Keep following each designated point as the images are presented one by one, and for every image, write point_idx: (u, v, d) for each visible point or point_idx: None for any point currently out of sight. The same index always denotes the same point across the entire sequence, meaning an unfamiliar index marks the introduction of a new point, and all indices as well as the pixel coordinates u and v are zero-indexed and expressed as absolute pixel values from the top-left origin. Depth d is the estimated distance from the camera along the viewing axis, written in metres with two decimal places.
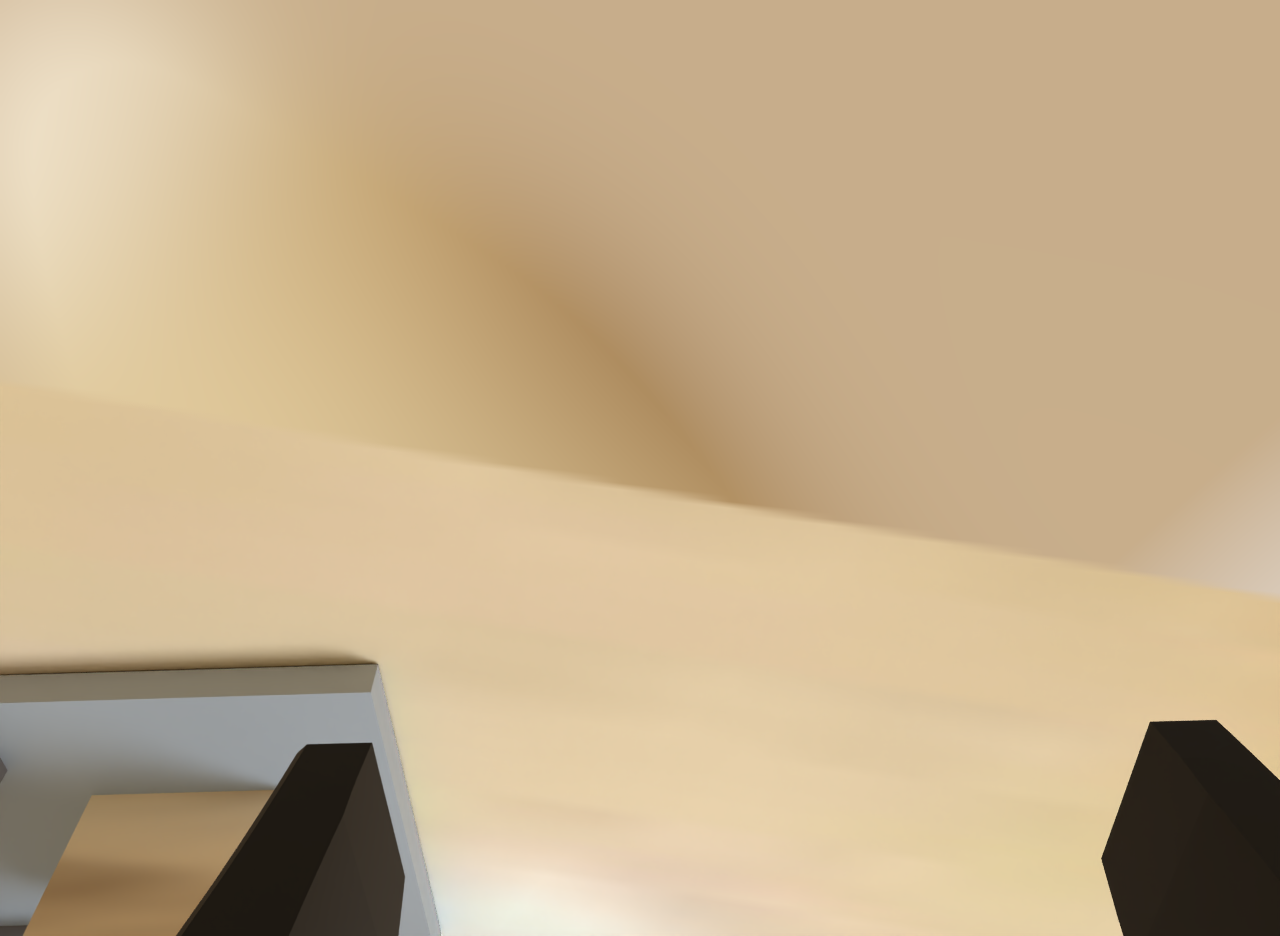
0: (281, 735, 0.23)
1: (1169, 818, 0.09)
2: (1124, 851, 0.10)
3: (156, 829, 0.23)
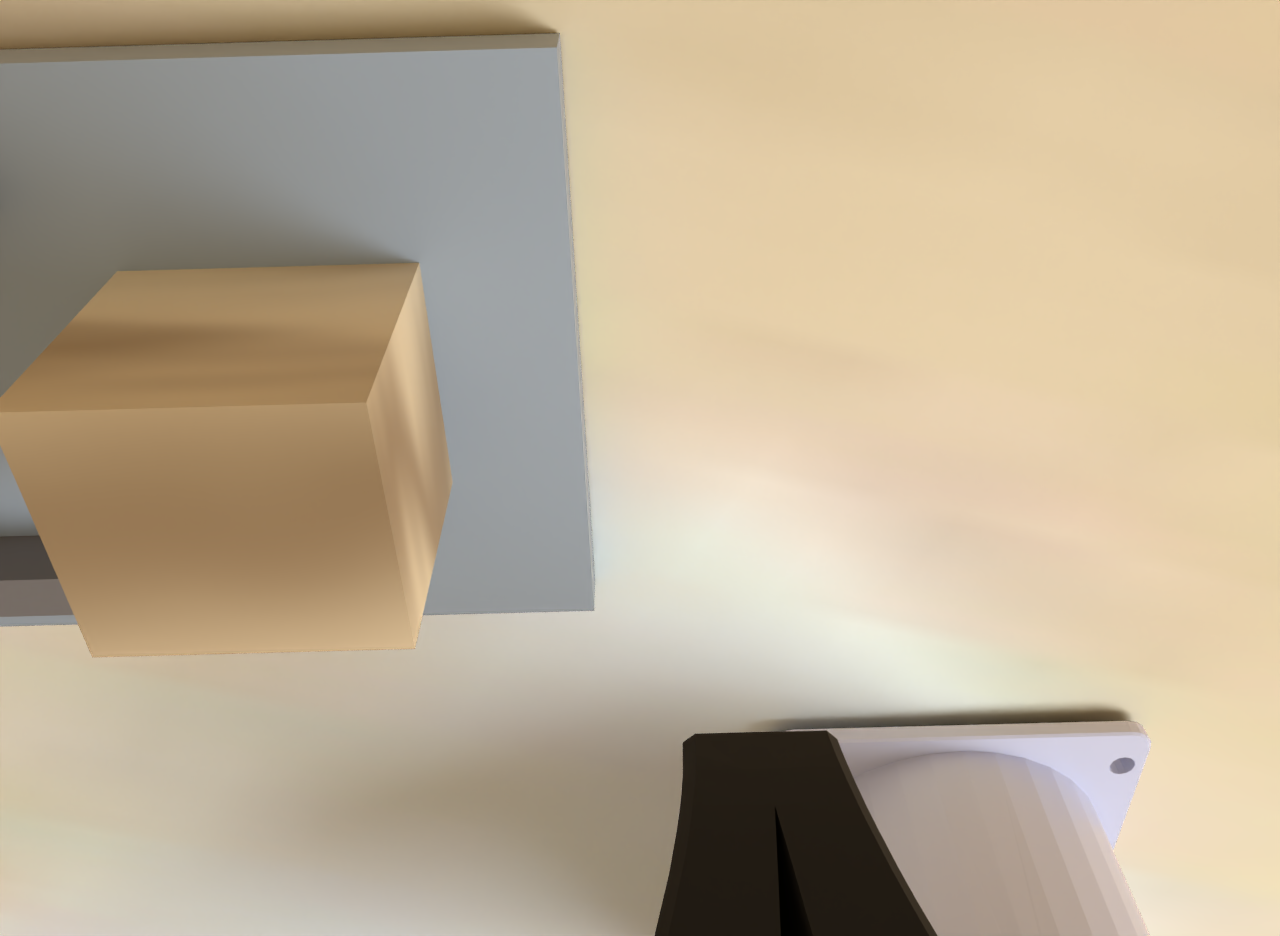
0: (410, 142, 0.15)
1: None
2: None
3: (217, 295, 0.15)
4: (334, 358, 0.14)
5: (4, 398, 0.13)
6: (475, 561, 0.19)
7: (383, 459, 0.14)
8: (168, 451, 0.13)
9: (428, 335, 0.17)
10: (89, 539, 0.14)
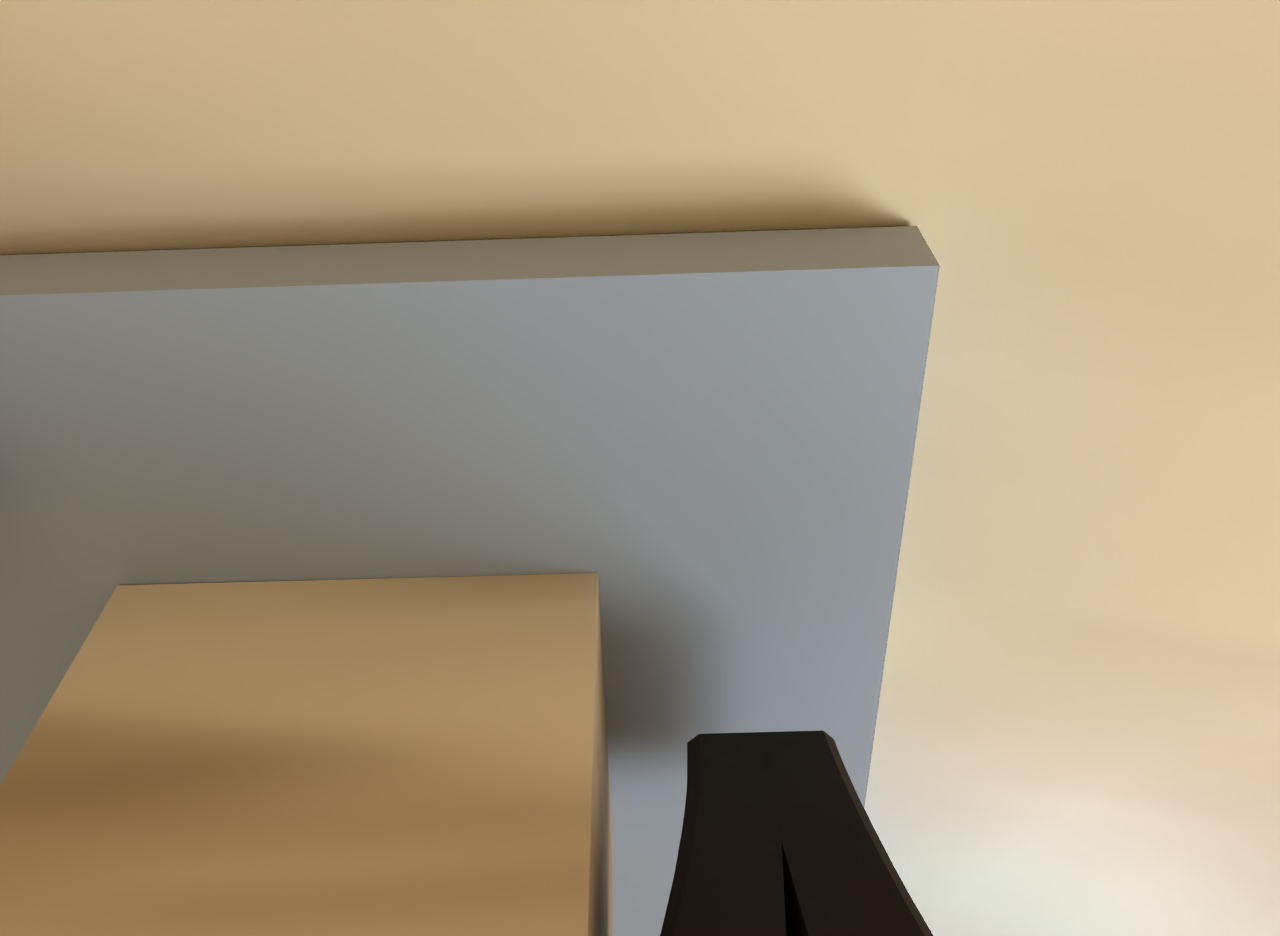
0: (668, 407, 0.09)
1: None
2: None
3: (282, 652, 0.09)
4: (505, 837, 0.08)
5: None
6: None
7: None
8: None
9: (602, 670, 0.11)
10: None
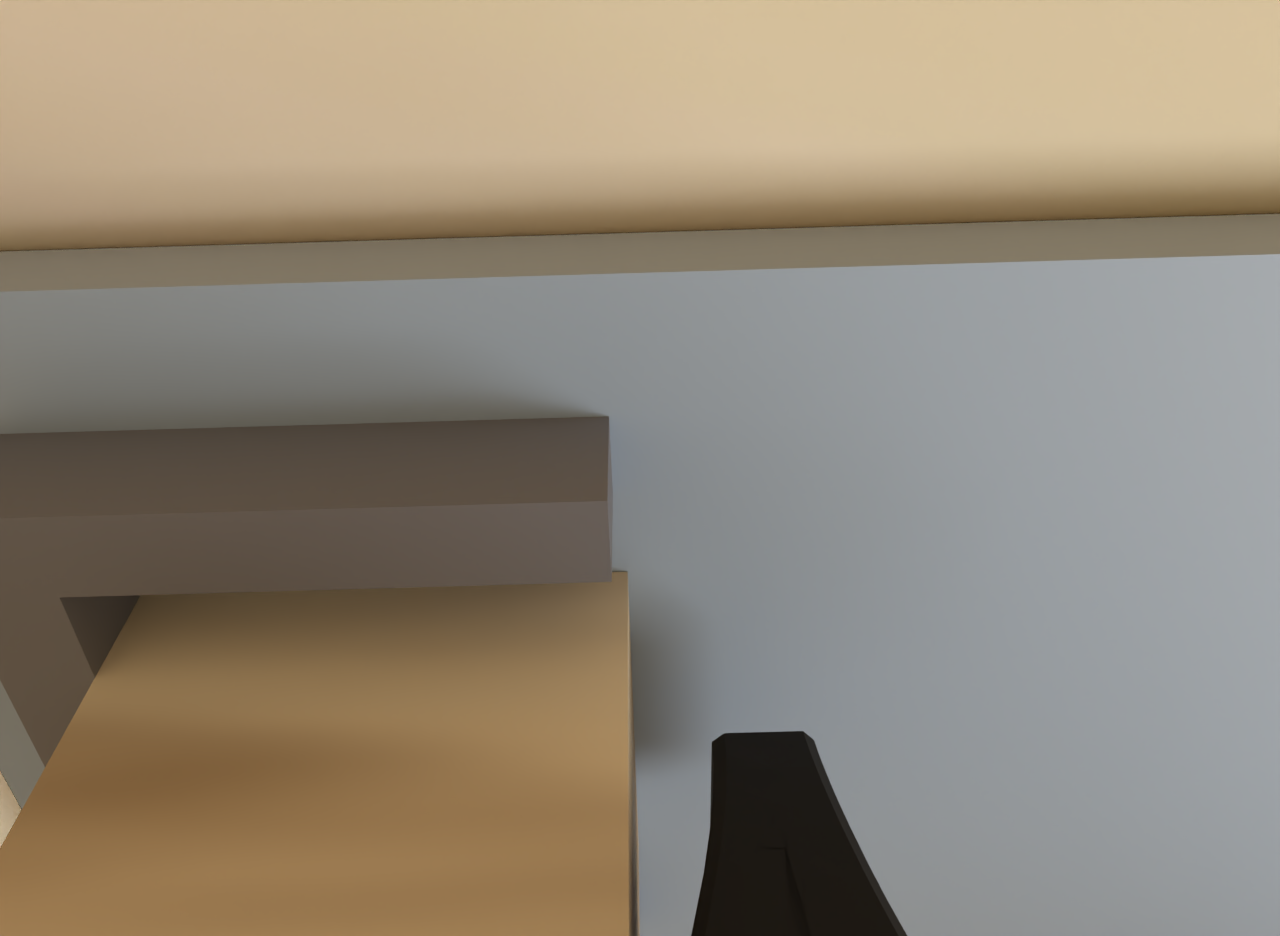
0: None
1: None
2: None
3: (313, 652, 0.09)
4: (543, 837, 0.08)
5: None
6: (1138, 912, 0.13)
7: None
8: None
9: (631, 669, 0.11)
10: None
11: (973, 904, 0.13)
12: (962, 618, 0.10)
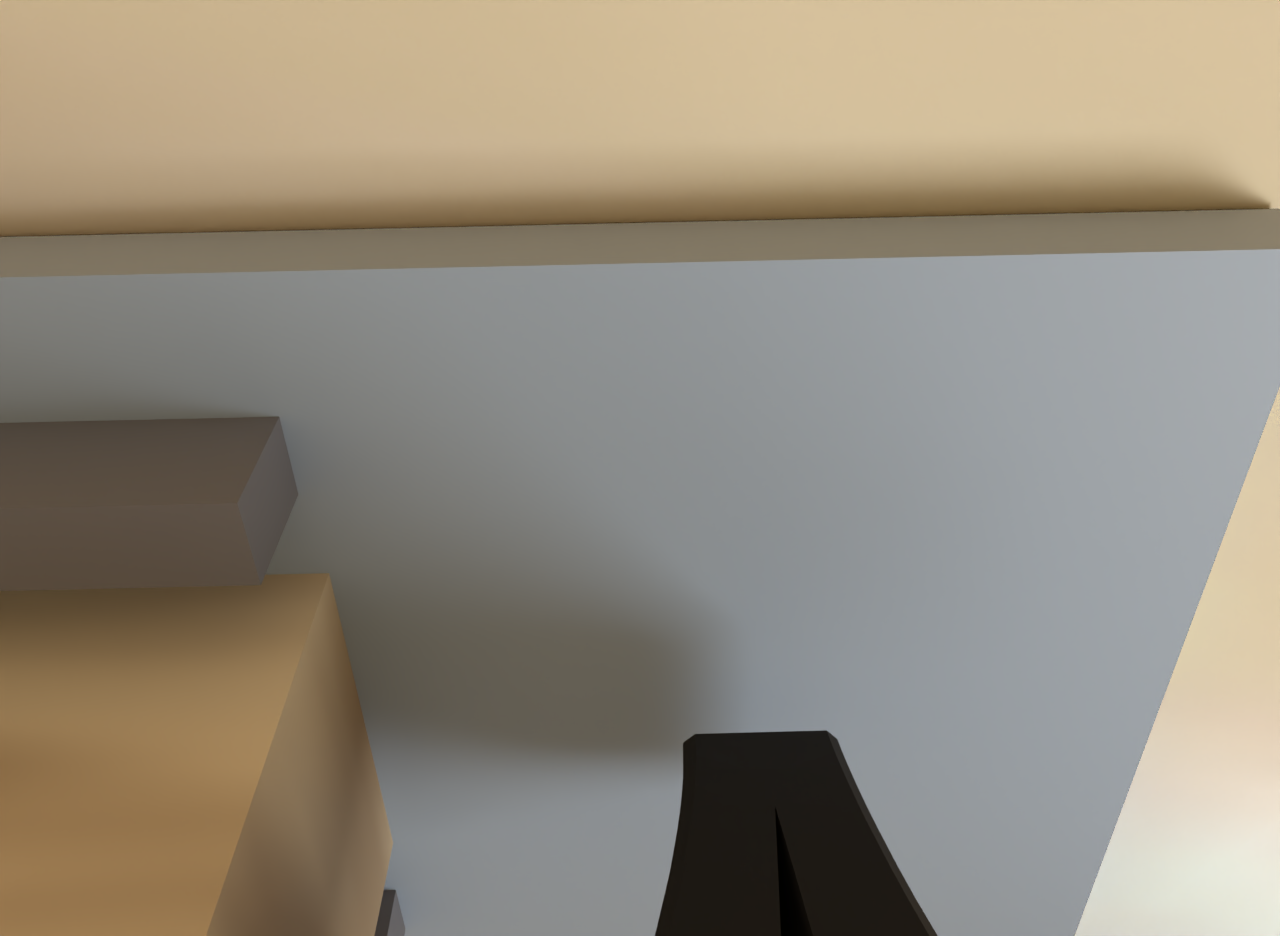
0: (1024, 390, 0.09)
1: None
2: None
3: None
4: (150, 844, 0.08)
5: None
6: None
7: None
8: None
9: (347, 672, 0.10)
10: None
11: None
12: (679, 623, 0.10)
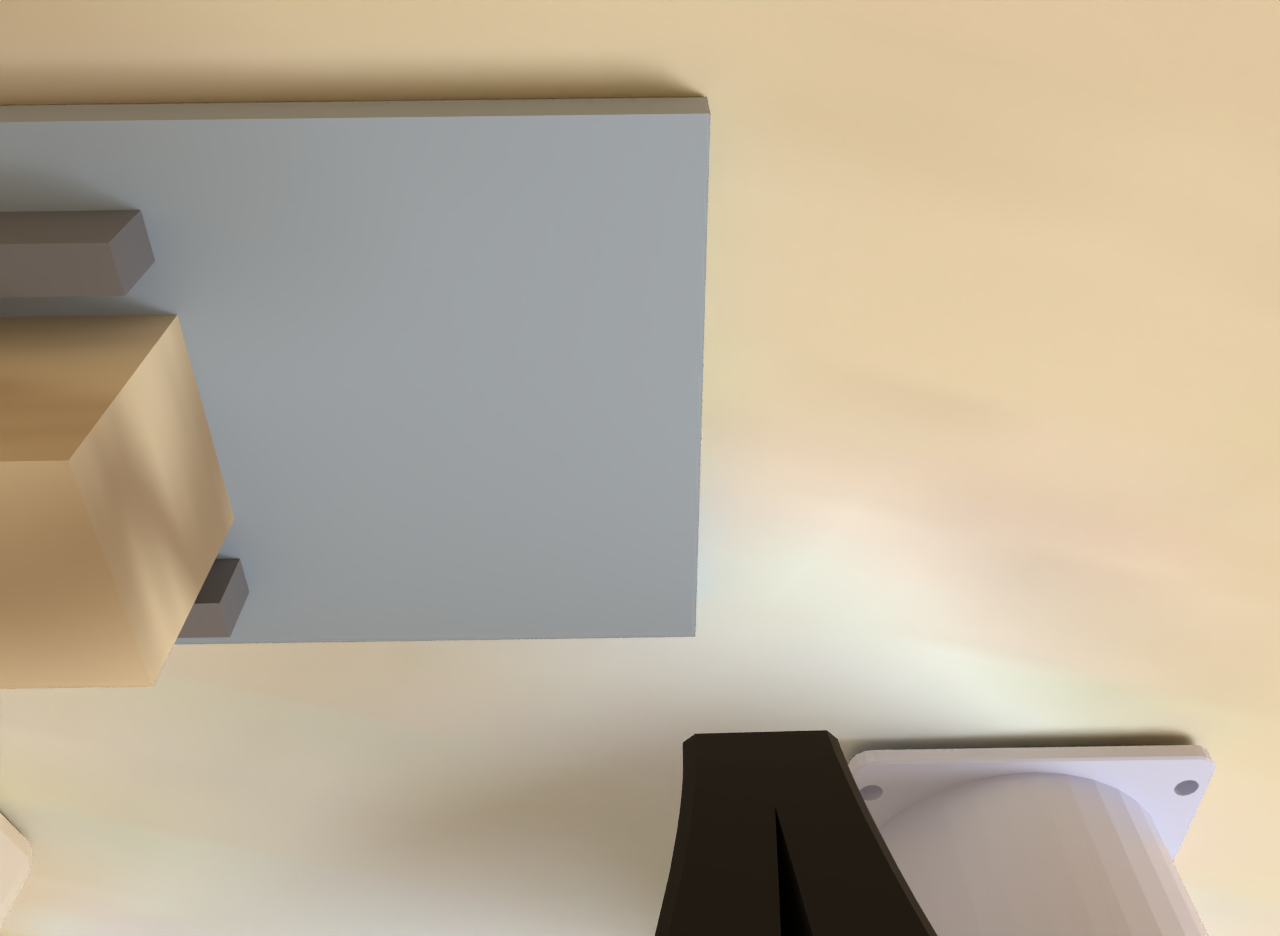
0: (562, 199, 0.16)
1: None
2: None
3: None
4: (57, 414, 0.14)
5: None
6: (586, 589, 0.20)
7: (100, 511, 0.14)
8: None
9: (192, 383, 0.17)
10: None
11: (473, 579, 0.20)
12: (391, 353, 0.17)
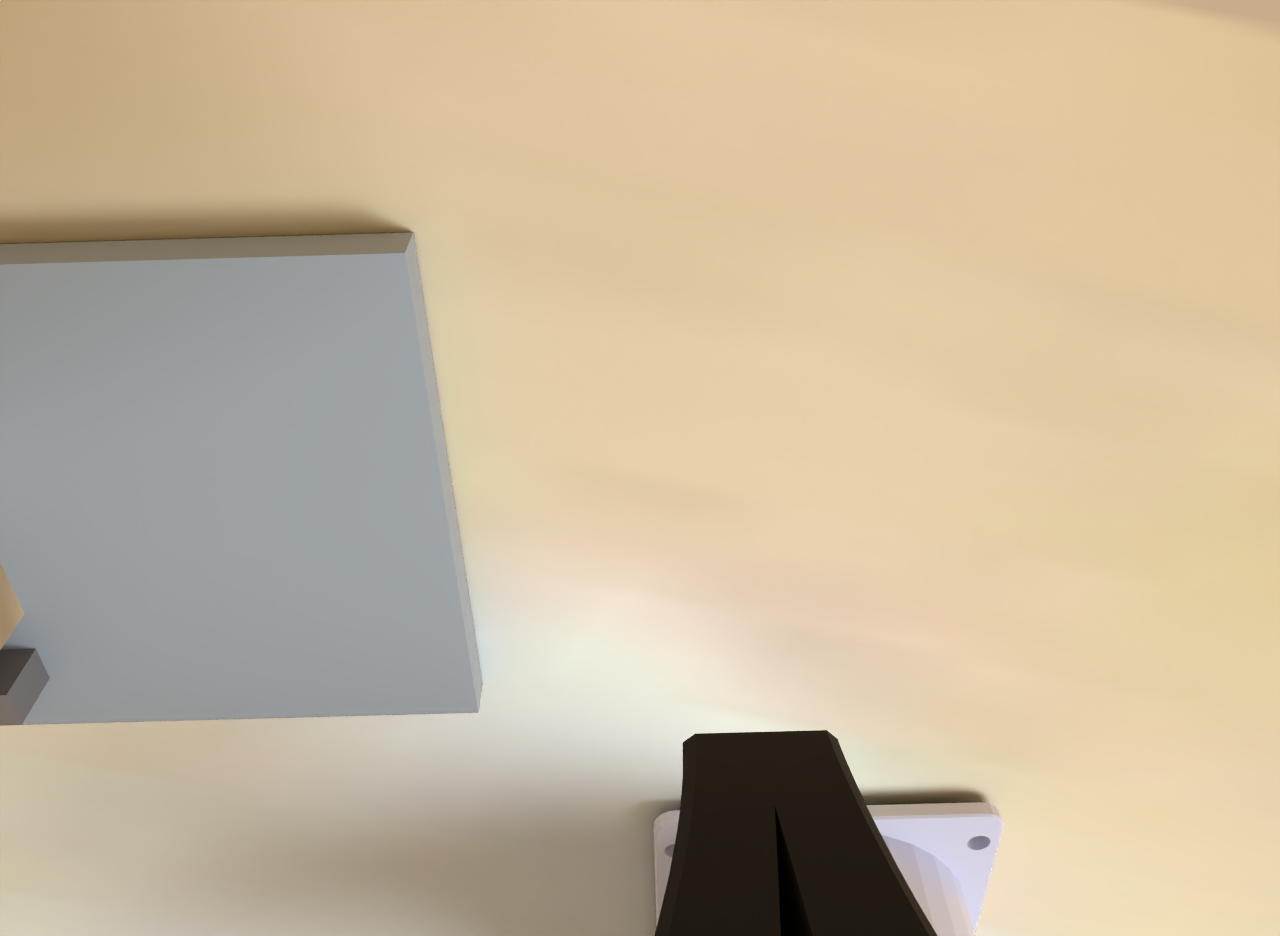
0: (281, 329, 0.17)
1: None
2: None
3: None
4: None
5: None
6: (366, 671, 0.21)
7: None
8: None
9: None
10: None
11: (258, 664, 0.21)
12: (146, 465, 0.18)
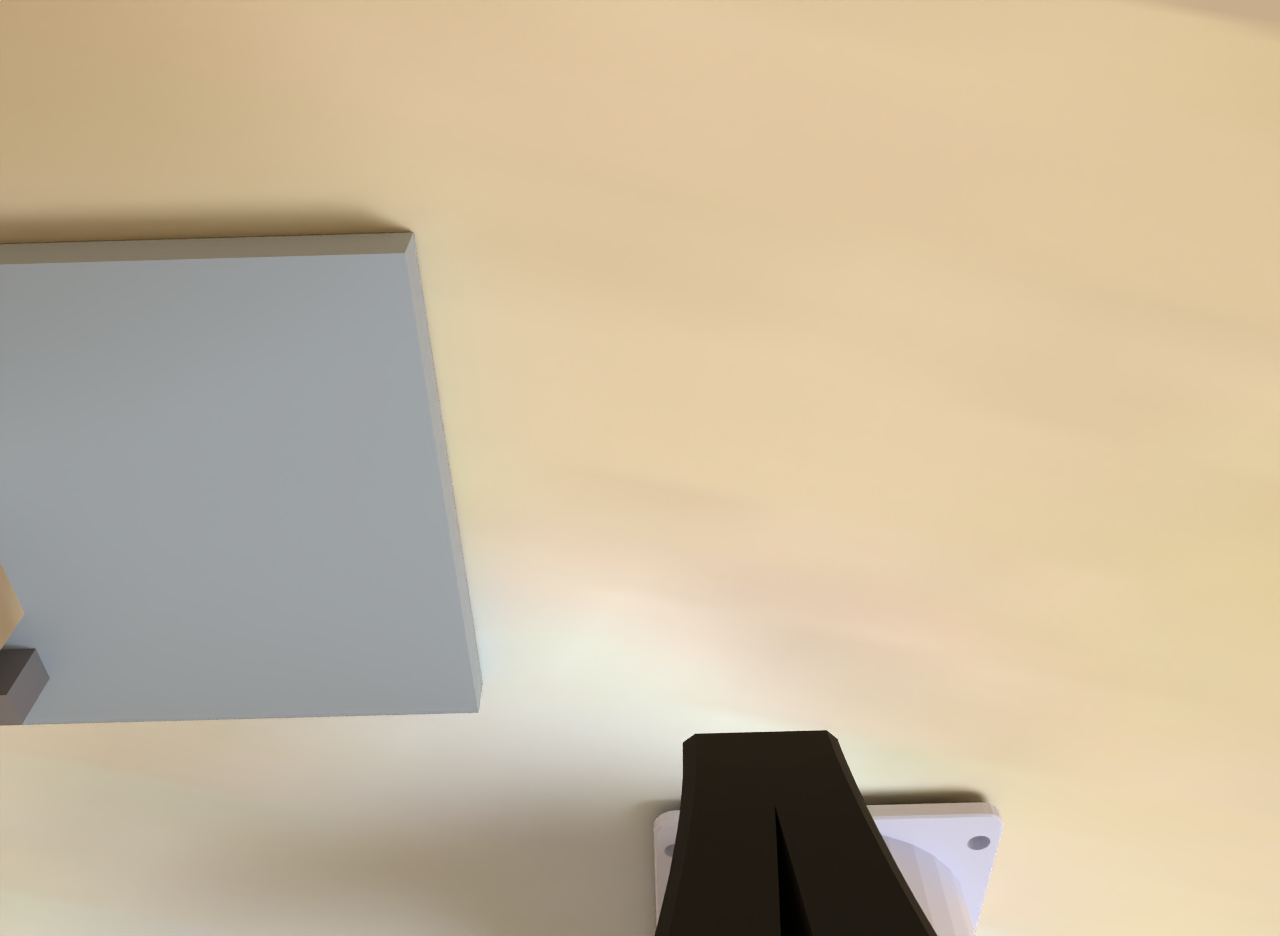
0: (281, 329, 0.17)
1: None
2: None
3: None
4: None
5: None
6: (366, 671, 0.21)
7: None
8: None
9: None
10: None
11: (258, 664, 0.21)
12: (146, 465, 0.18)
